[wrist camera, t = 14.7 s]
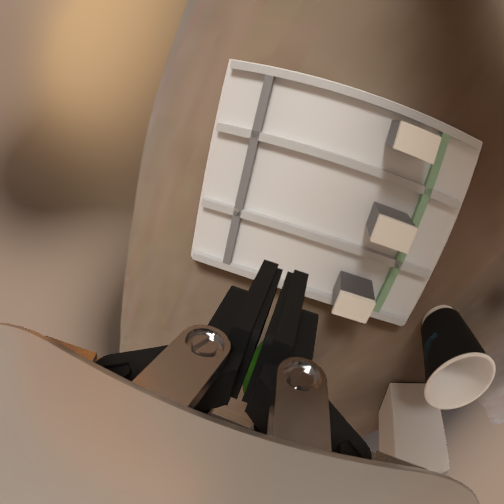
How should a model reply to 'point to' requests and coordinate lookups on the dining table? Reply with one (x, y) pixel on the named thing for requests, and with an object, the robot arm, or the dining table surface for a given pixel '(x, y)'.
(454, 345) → the dixie cup
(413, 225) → the block
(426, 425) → the milk carton
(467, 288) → the dining table surface
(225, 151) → the board
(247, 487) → the robot arm
